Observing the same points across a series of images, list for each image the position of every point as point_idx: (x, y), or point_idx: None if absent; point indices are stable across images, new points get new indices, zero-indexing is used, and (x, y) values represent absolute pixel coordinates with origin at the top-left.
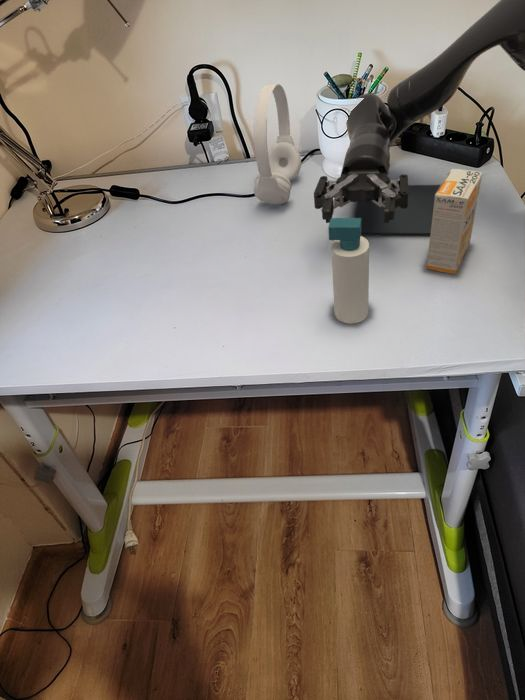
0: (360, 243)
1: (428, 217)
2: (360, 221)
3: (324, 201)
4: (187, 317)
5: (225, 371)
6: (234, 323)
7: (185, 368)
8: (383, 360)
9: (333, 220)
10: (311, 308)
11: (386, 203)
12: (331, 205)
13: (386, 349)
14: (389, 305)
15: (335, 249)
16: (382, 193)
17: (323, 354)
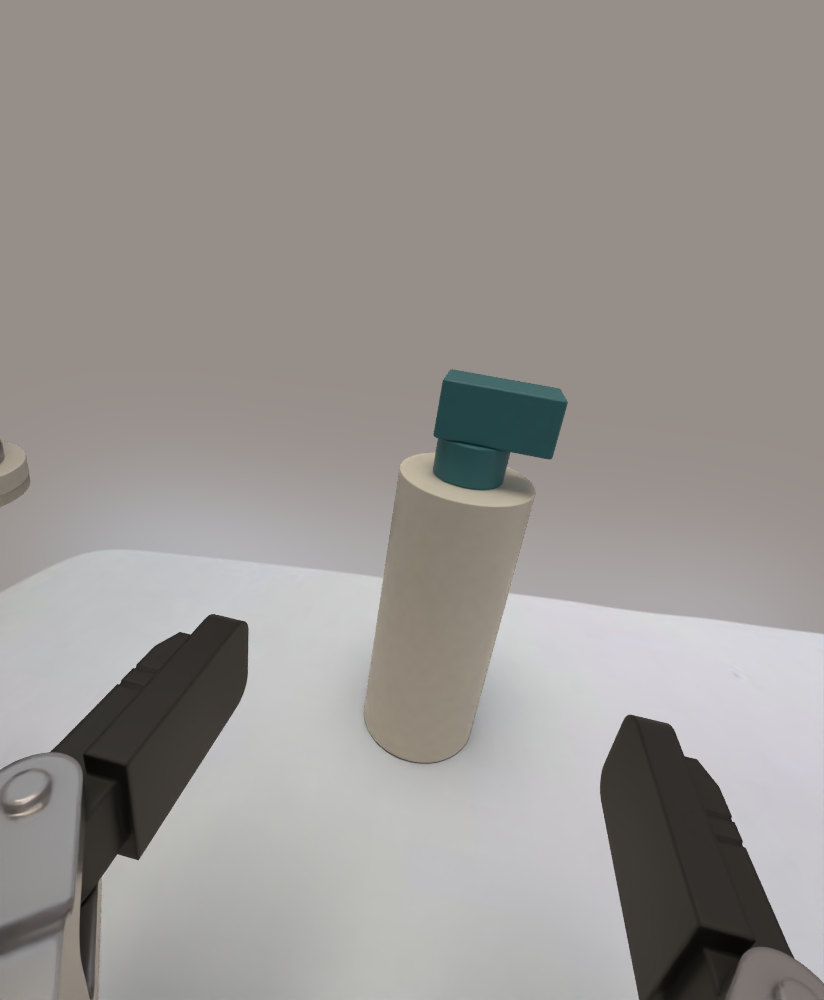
0: (430, 474)
1: None
2: (447, 374)
3: (781, 945)
4: None
5: (680, 620)
6: (769, 742)
7: (773, 640)
8: (360, 584)
9: (551, 393)
10: (550, 757)
11: (182, 682)
12: (654, 792)
13: (346, 601)
14: (289, 719)
15: (516, 476)
16: (75, 923)
17: None
